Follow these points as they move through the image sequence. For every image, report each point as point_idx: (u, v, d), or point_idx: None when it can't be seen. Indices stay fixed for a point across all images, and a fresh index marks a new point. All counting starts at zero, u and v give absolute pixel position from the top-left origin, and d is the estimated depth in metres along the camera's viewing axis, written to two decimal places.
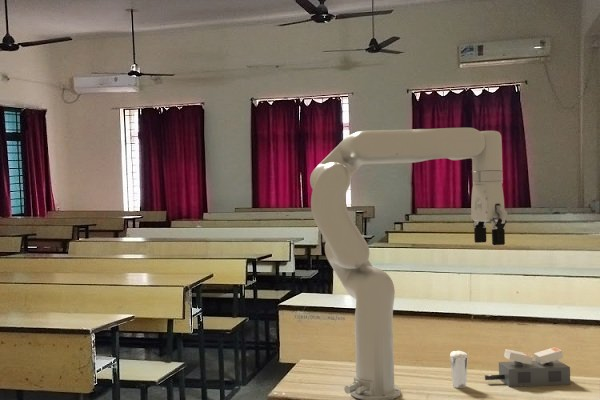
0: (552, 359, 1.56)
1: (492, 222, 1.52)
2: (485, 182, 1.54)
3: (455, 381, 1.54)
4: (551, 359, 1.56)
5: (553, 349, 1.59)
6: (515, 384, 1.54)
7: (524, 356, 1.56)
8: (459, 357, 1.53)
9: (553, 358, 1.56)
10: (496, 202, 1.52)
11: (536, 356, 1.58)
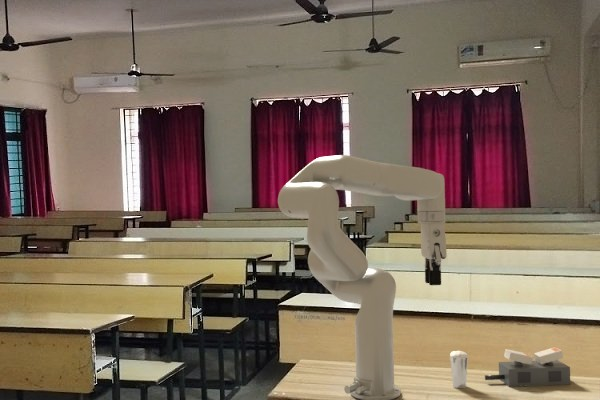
0: (552, 359, 1.56)
1: None
2: None
3: (455, 381, 1.54)
4: (551, 359, 1.56)
5: (553, 349, 1.59)
6: (515, 384, 1.54)
7: (524, 356, 1.56)
8: (459, 357, 1.53)
9: (553, 358, 1.56)
10: None
11: (536, 356, 1.58)
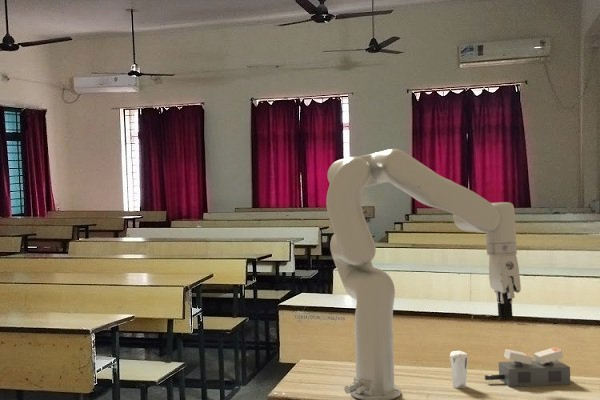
0: (552, 359, 1.56)
1: None
2: None
3: (455, 381, 1.54)
4: (551, 359, 1.56)
5: (553, 349, 1.59)
6: (515, 384, 1.54)
7: (524, 356, 1.56)
8: (459, 357, 1.53)
9: (553, 358, 1.56)
10: None
11: (536, 356, 1.58)
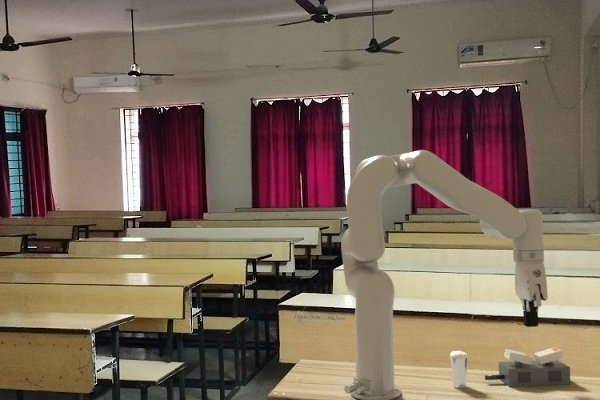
0: (552, 359, 1.56)
1: None
2: None
3: (455, 381, 1.54)
4: (551, 359, 1.56)
5: (553, 349, 1.59)
6: (515, 384, 1.54)
7: (524, 356, 1.56)
8: (459, 357, 1.53)
9: (553, 358, 1.56)
10: None
11: (536, 356, 1.58)
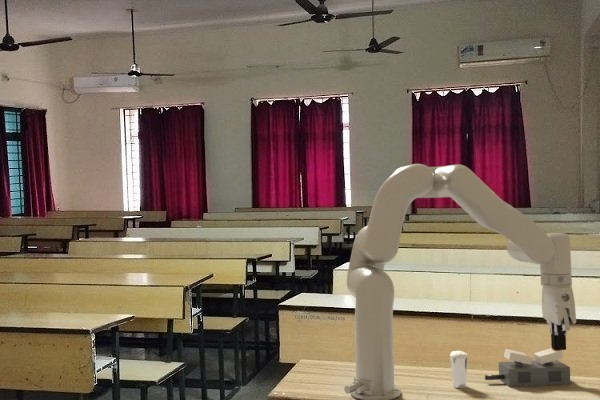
0: (552, 359, 1.56)
1: None
2: None
3: (455, 381, 1.54)
4: (551, 359, 1.56)
5: (553, 349, 1.59)
6: (515, 384, 1.54)
7: (524, 356, 1.56)
8: (459, 357, 1.53)
9: (553, 358, 1.56)
10: None
11: (536, 356, 1.58)
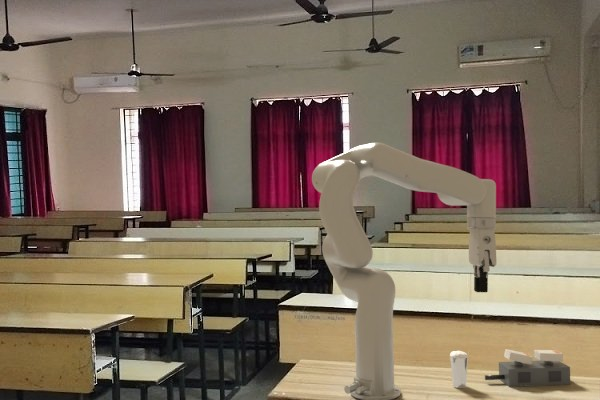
0: (551, 359, 1.56)
1: None
2: None
3: (455, 381, 1.54)
4: (550, 359, 1.56)
5: (554, 351, 1.59)
6: (515, 384, 1.54)
7: (524, 356, 1.56)
8: (459, 357, 1.53)
9: (553, 359, 1.56)
10: None
11: (536, 352, 1.58)
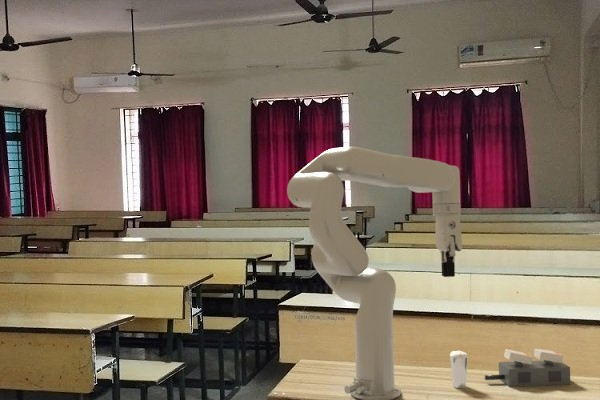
0: (551, 359, 1.56)
1: None
2: None
3: (455, 381, 1.54)
4: (550, 359, 1.56)
5: (555, 352, 1.59)
6: (515, 384, 1.54)
7: (524, 356, 1.56)
8: (459, 357, 1.53)
9: (552, 359, 1.56)
10: None
11: (537, 351, 1.58)
